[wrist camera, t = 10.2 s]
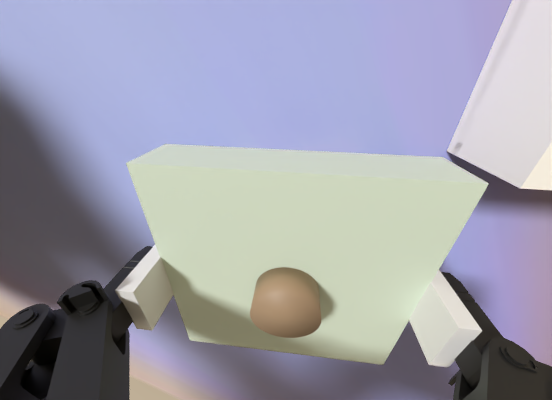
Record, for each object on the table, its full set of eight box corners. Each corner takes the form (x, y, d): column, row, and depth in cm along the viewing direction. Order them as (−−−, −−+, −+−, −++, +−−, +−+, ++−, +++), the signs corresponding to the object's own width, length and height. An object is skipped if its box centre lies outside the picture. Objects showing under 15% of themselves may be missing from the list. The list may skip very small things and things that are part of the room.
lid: (205, 304, 16) (179, 366, 12) (165, 143, 10) (92, 179, 6) (371, 323, 15) (391, 395, 11) (442, 157, 9) (531, 207, 5)
